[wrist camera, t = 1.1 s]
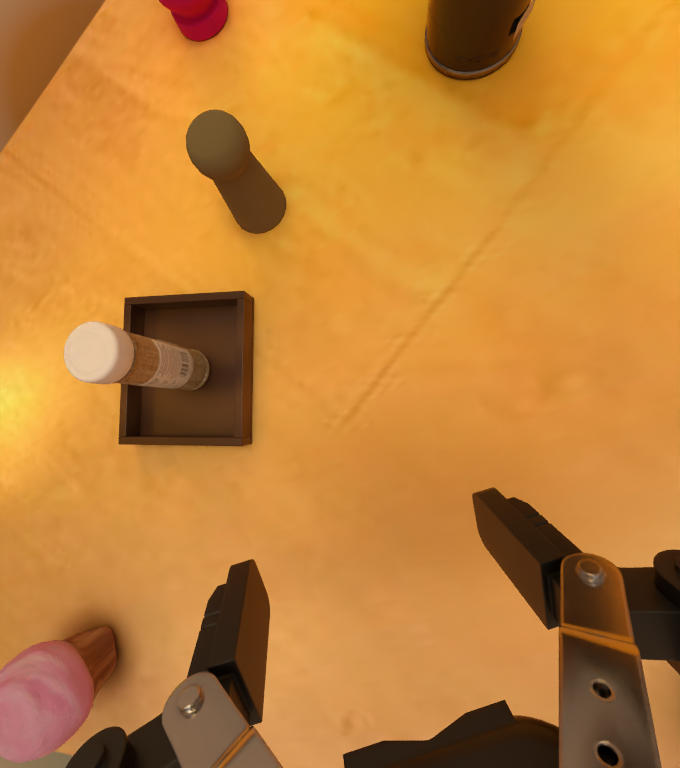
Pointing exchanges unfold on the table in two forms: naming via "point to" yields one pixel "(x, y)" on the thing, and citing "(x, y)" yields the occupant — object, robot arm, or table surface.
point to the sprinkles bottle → (132, 359)
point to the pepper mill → (198, 16)
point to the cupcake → (52, 692)
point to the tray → (226, 378)
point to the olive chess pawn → (235, 170)
